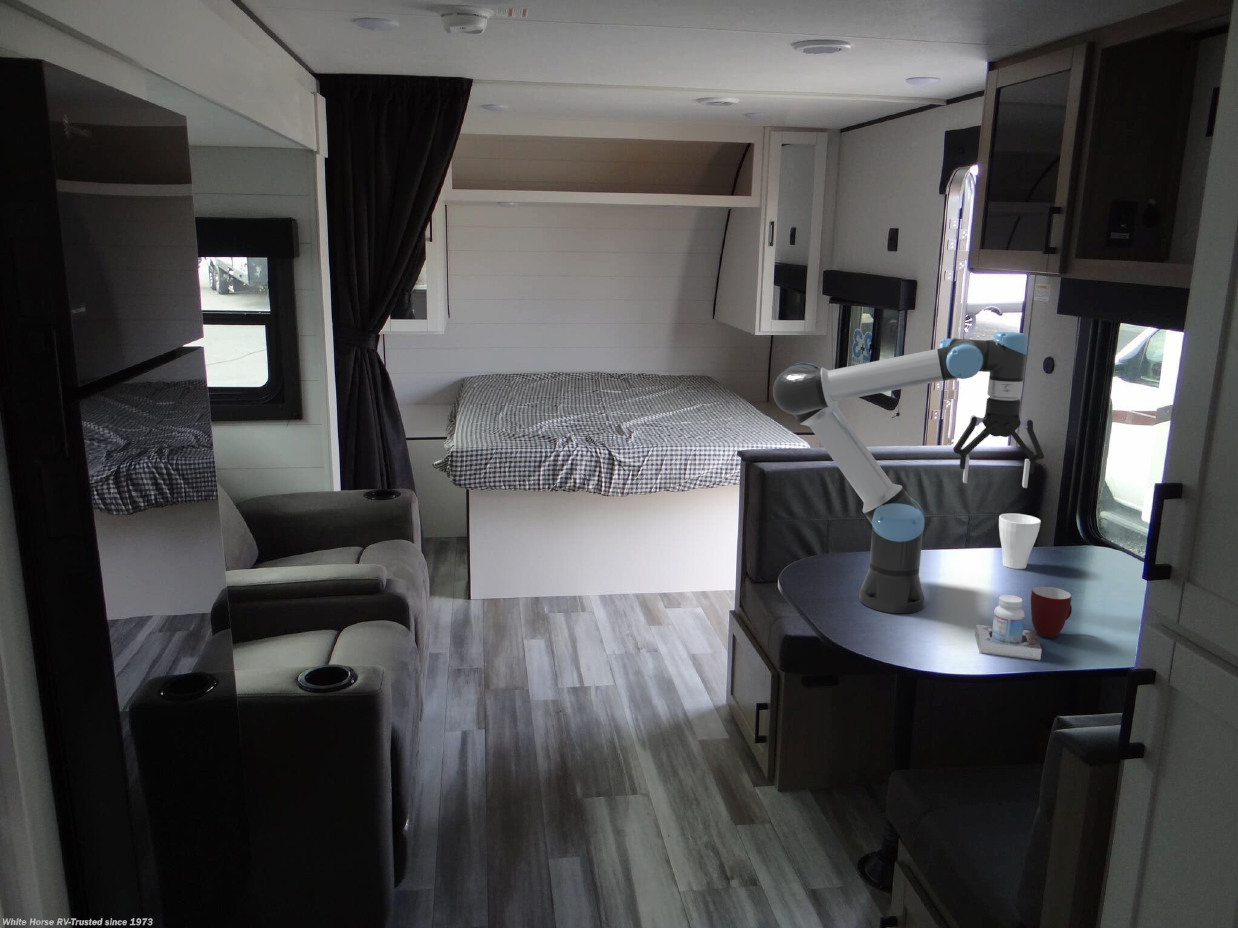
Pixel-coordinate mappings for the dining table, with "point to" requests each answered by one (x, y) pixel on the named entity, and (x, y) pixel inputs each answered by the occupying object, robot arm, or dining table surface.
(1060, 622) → the mug
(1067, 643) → the dining table surface
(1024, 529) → the cup
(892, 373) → the robot arm
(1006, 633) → the pill bottle
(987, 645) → the block
